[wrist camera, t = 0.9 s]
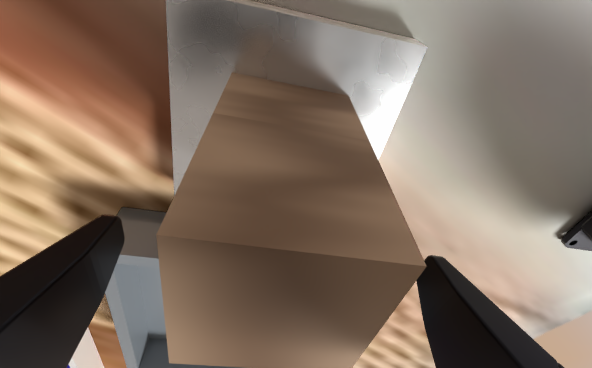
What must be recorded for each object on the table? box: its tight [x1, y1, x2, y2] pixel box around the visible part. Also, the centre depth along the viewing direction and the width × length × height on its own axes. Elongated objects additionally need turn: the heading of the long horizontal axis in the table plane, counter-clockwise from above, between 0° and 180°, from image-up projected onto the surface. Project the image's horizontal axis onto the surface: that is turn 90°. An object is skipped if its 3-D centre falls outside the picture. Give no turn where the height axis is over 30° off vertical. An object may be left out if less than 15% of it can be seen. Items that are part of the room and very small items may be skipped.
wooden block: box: [156, 72, 427, 368], centre depth 11 cm, size 5×5×9 cm
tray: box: [105, 207, 243, 368], centre depth 23 cm, size 15×15×4 cm
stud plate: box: [166, 0, 428, 196], centre depth 13 cm, size 10×10×5 cm
